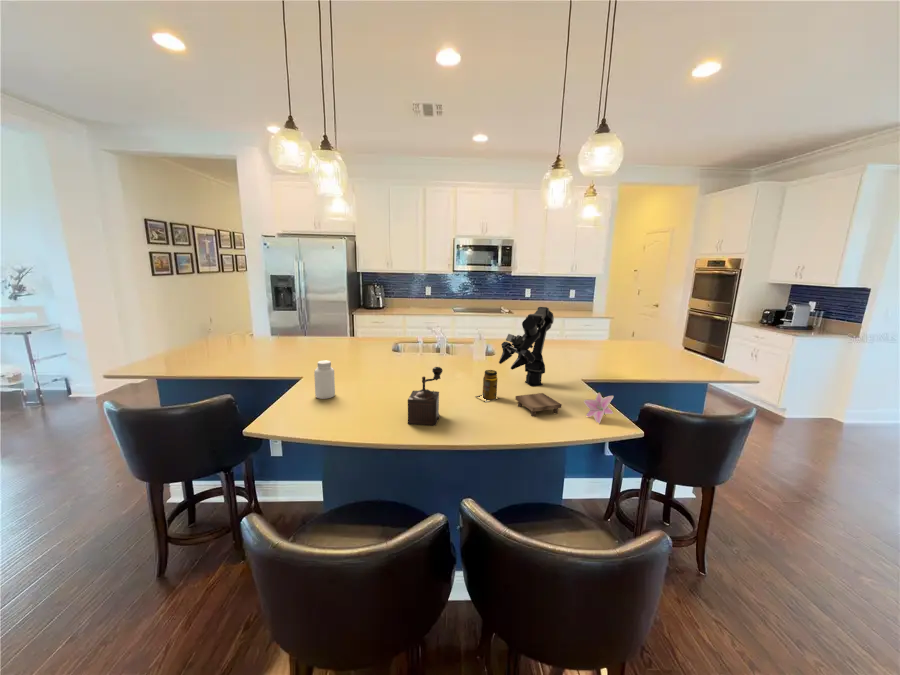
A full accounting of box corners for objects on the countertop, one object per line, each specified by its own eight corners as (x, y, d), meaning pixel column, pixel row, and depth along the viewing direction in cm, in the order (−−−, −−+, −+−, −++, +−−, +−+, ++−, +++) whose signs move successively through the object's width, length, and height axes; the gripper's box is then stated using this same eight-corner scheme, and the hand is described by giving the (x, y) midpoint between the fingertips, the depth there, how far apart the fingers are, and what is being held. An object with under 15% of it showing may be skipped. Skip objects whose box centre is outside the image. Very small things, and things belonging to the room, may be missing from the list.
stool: (541, 401, 157) (542, 392, 156) (560, 413, 145) (561, 404, 144) (514, 405, 153) (515, 396, 152) (532, 417, 141) (532, 407, 140)
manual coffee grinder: (437, 426, 131) (438, 378, 128) (406, 424, 132) (407, 376, 129) (442, 409, 147) (443, 365, 143) (414, 407, 147) (415, 364, 144)
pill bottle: (339, 394, 159) (337, 360, 156) (325, 400, 152) (324, 365, 149) (325, 391, 162) (323, 358, 159) (311, 397, 155) (309, 362, 152)
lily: (581, 412, 150) (577, 395, 145) (610, 403, 148) (606, 385, 144) (593, 434, 139) (589, 416, 135) (624, 424, 138) (620, 406, 133)
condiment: (500, 399, 159) (502, 372, 157) (485, 402, 155) (486, 375, 152) (489, 393, 165) (491, 368, 163) (474, 397, 161) (475, 370, 158)
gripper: (506, 323, 167) (483, 349, 165) (531, 331, 151) (506, 360, 149) (519, 339, 172) (497, 364, 170) (545, 348, 156) (521, 376, 154)
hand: (505, 366), depth 160 cm, fingers open, 9 cm apart
